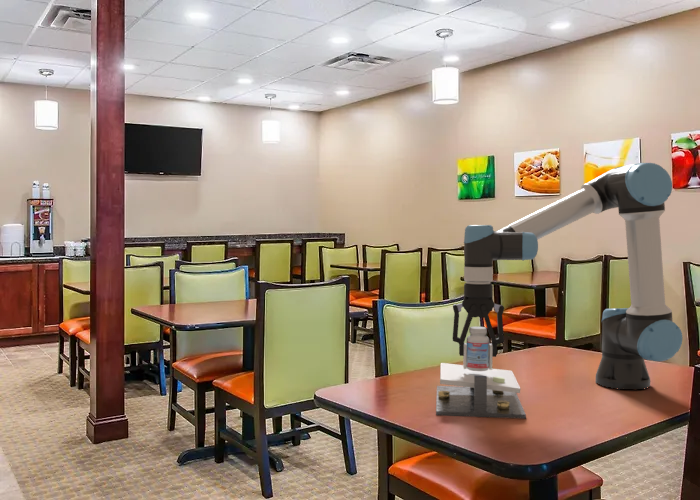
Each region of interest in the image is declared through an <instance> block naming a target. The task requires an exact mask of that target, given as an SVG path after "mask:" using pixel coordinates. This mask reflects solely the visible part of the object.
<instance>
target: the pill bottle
mask: <svg viewBox="0 0 700 500" xmlns="http://www.w3.org/2000/svg"><path fill="white" fill-rule="evenodd" d="M468 333H469V335H468V336H466V344H467V369H469V370H472V371H487V370H488V369H489V344H490V338H489V337H488V336H487V334H488V328H487V326H486V327H484V326H478V325H476V326H475V325H474V326H469V329H468Z"/></svg>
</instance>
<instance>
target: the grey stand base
mask: <svg viewBox="0 0 700 500" xmlns="http://www.w3.org/2000/svg"><path fill="white" fill-rule="evenodd" d="M435 405H436V407H435V415H436V416H449V417H471V418H472V417H473V418H475V417H477V418H498V419H501V418H502V419H503V418H504V419H527V415H526V411H525V409H524V406H523V405H522V403H521V401H520V398H519V396H518V393H514V392H506V391H497V390H489V389H487V376H474V388H471V387H463V386H454V385H436V404H435Z"/></svg>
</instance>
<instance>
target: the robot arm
mask: <svg viewBox="0 0 700 500" xmlns="http://www.w3.org/2000/svg"><path fill="white" fill-rule="evenodd" d="M672 190H673V182H672V178H671V175H670V174H669V172H668V171H667V170H666V169H665V168H663V166H661V165H659V164H657V163H655V162H638V163H634V164H628V165H623V166H622V165H621V166H617V167H614V168H612V169H610V170H608V171H606V172H604V173H602V174H601V175H599V176H597V177H595V178H594V179H591V180H590V181H588V182H586V183H583V184H582V186H581V187H580V189H579V190H577V191H575V192H573V193H570V194H569V195H566V196H565V197H563V198H561V199H558V200H556V201H555V202H553V203H550V204H548V205H546V206H544V207H542V208H540V209H538V210H536V211H535V212H533V213H530V214H528V215H525V216H524V217H522V218H520V219H518V220H516V221H514V222H512V223H510V224H508V225H506V226H504V227H502V228H500V229H497V230H494V226H493V225H491V224H469V225H467V226H465V229H464V237H463V238H464V239H463V249H464V250H463V251H464V256H463V257H464V259H463V260H464V265H463V266H464V267H463V271H464V272H463V276H464V277H463V280H464V282H465V283H464V284H463V300H462V302H461V303H457V304H456V303H455V304H453V305H452V309H453V312H454V313H453V314H454V317H453V328H452V342H455V343H458V344H459V345H458V346H459V348H458V351H459V356H460V357H463V358H462V359H463V361H462V362H463V364H462V365H463V368H464V369H467V342H465V340H466V339H467V335H468V333H469V328H470V327H471V323H472V320H473V318H482V319H483V318H484V319H483V320H484V322H485V325H486V328H487V333H488V334H489V337H490V338H489V339H490V340H491V343H489V370H492V369H493V357H494V358H496V357H497V354H498V353H497V352H498V351H497V350H498V344H502V343H504V341H505V337H504V321H503V315H504V310H505V307H504V305H502V304H497V303H495V302H494V300H493V296H494V295H493V294H494V293H493V291H494V290H493V287H494V286H493V283H492V282H493V279H494V277H493V276H494V269H493V268H494V263H493V262H494V261H528V260H529V261H531V260H534V259H535V258H536V257H537V255H538V250H539V242H538V240H540V239H542V238H544V237H545V236H548V235H550V234H552V233H555V232H556V231H557V230H560V229H562V228H564V227H566V226H569V225H570V224H572V223H574V222H576V221H578V220H580V219H582V218H584V217H586V216H589V215H590V214H595V215H597V214H598V215H599V214H600V213H603V212H605V211H607V210H608V211H609V210H611V209H616V208H617V209H618V215H619V217H620V218H622V219H623V220H624V224H625V237H626V252H627V264H628V265H627V266H628V278H629V291H630V293H629V294H630V304H631V305H630V307H623V308H620V307H619V308H605V309H604V310H603V312H602V315H601V316H602V318H601V326H602V327H601V328H602V329H601V358H600V362H599V365H598V366H597V367H598V368H597V369H596V373H595V384H597V383H598V384H600V385H599V386H601V385H602V386H601V387H604V386H606V387H605V388H608V387H611V388H610V389H613V388H618V389H617V390H620V389H644V388H647V387H649V386H650V387H651V377H650V375H649V371H648V368H647V365H646V362H645V361H653V362H665V361H668V360H670V359H672V358H674V356H675V355H676V354H677V353H678V352H679V350H680V349H681V347H682V344H683V332H682V329H681V327H680V326H678V324H677V323H675V322H674V320H673V311H672V308H670V307H669V306H668V305H667V304H666V297H665V295H666V294H665V281H664V268H663V253H662V251H663V250H662V239H661V224H660V217H661V216H662V214H664V213H665V212H666V207H665V203H666V201H667V200H668V198H669V197H670V196H671V194H672V192H673V191H672ZM462 308H464V310H465V312H466V313H467V314H466V319H465V322H464V325H463V328H462V331H461V334H460V337H458V335H459V322H460V321H459V319H460V313H461V312H462ZM493 309H494V311H495V313H496V321H497V334H498V336H497V338H496V336H495V331H494V329H493V325H492V323H491V320H490V316H489V314H490V313H491V312H492V310H493ZM598 384H597V385H598ZM644 390H645V389H644Z"/></svg>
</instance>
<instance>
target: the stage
mask: <svg viewBox="0 0 700 500" xmlns="http://www.w3.org/2000/svg"><path fill="white" fill-rule="evenodd" d="M439 367H440V368H439V369H440V373H439V375H440V376H439V384H440V385H445V386H458V387H471V388H474V376H487V389H489V390H497V391H506V392H514V393H517V394H521V387H520V384H519V383H518V381H517V378H516V376H515V374H514V372H513V370H510V369H509V370H507V369H501V368H500V369H499V368H492V370H489V369H488V370H487V371H472V370H469V369H464V368H463V364H456V363H455V364H454V363H447V362H441V363H440V366H439Z"/></svg>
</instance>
